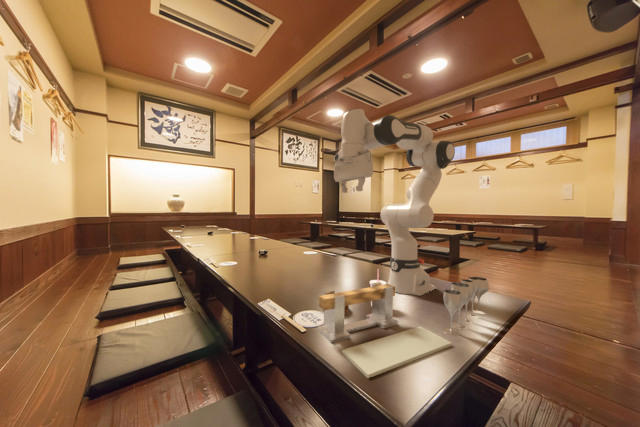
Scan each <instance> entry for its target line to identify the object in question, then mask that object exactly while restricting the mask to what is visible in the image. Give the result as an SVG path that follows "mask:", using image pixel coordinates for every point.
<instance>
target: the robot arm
mask: <svg viewBox="0 0 640 427" xmlns="http://www.w3.org/2000/svg"><path fill="white" fill-rule="evenodd" d="M340 126H341V130H340V135H341V142H340V143H341V144H340V149H339V150H338V152H337V153H336V154H335V155H334V157H333V163H334V166H333V179H334V181H335V183H336V182H337V183H339V185H340V187H341V193H343V194H347V193H348V187H347V182H350V181H356V180H357V181H358V183H357V185H356V186H355V188H356V189H355V191H356V192H363V189H364V185H365V182H366V179H367V178H372V176H373V174H374V162H373V157H372V152H371V150H376V149H378V148H382V147H386V146H392V145H395V144H396V146H397V147H398V148H399V149H402V150H406V156H405V157H406V158H405V159H406V162H407V164H408V165H409V167H415V168H419V167H421V168H420V171H419V172H418V173H417V174H416V176H415V177H414V179H413V180H412V182H411V183H410V185H409V186H408V187H407V189H406V198H407V199H408V201H405V202H404V203H403V202H401V203H400V202H399V203H397V202H396V203H390V204H386V205H384V206H383V207H382V208H381V211H380V215H379V216H380V221H381V222H382V223H383V224H384V225H385V226H386V228H387V231H388V233H389V236H390V242H391V256H390V260H389V263H390V264H389V265H390V270H389V275H388V281H387V284H390V285H392V286H395V293H398V294H403V295H404V294H405V295H414V296H423V295H426V294H428V293H430V292H429V291H431V292H433V291H435V290H434V289H436V290H437V286H435V285H433V284H431V276H430V274H429V273H427V272H426V271H425V270H424V269H423V268H422V267H421V266H420V264H421V265H423V264H424V263H425V260H424V259H421V258H418V246H419V245H418V241H417V239H416V238H415V237H414V236H412V234H411V232H410V229H423V228H428V227H429V226H431V224H432V223H433V221H434V218H435V216H434V215H435V214H434V210H433V208H432V207H431V205H429V204H430V201H431V199H432V197H433V195H434V193H435V192H436V190H437V189H438V186H439V185H440V182H441V179H442V176H443V174H442V170H443V169H446V168H447V167H448V165H449V164H451V163H452V161H453V159H454V157H455V155H456V152H455V151H456V149H455V148H456V147H455V146H454V143H453V142H452V141H450V140H440V141H433V139H434V133H433V129H431V127H428V126H427V125H424V124H419V123H414V122H410V121H409V122H408V121H403V120H401V119H400V118H398V117H396V116H395V115H392V114H388V115H384V116H383V117H381V118H379V119H376V120H374V121H372V122H371V121H370V120H369V119H368V118H367V116H366V115H365V111H364V109H362V108H353V109H350V110H347V111H345V113H344V114H343V116H342V119H341V125H340ZM432 290H433V291H432ZM427 292H428V293H427ZM425 293H426V294H425Z"/></svg>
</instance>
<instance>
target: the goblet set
mask: <svg viewBox="0 0 640 427" xmlns="http://www.w3.org/2000/svg"><path fill="white" fill-rule="evenodd" d="M489 289H490V285H489V281H488V279H487V278H486V277H481V276H480V277H479V276H471V277H469V276H468V277H467V279H464V278H463V279H461V280H460V282H458V281H457V282H455V281H453V282H451V283H450V289H444V291H443V296H442V299H443V303H444V304H443V305H444V306H445V308H446V310H448V313H449V317H450V328H449V327H446V328H443V329H442V331H443V333H445V334H446V333H448V334H447V335H449V334H451V335H450V336H452V335H453V336H454V337H455V336H456V335H458V336H460V335H459V333H460V332H459V331H458V330H459V329H463V328H465V326H466V325H465V324H463V323H461V321H460V319H461V313H462V308H463V306H465V319H462V320H463V321H466V322H470V321H469V320H470V319H469V320H468V317H467V314H468V305H469V302H470V300H471V310H472V312H471V313H470V314H471V316H475V315H476V314H474V313H473V309H474V306H475V304H474V303H475V300H476V298H477V310H478V311H479V310H480V301H481V300H480V299H481V297H482V296H483V295H484V294H486V293H488V292H489ZM456 312H458V313H457V314H458V322H454V321H453V320H454V315H455V313H456ZM473 314H474V315H473ZM462 324H463V325H462ZM464 325H465V326H464ZM456 337H457V336H456Z"/></svg>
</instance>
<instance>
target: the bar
mask: <svg viewBox="0 0 640 427" xmlns="http://www.w3.org/2000/svg"><path fill="white" fill-rule="evenodd" d="M386 287H393V297H396V292H395V286H392V285H390V284H388V283H386V285H380V286H374V287H369V286H368V287H363V288H357V289H351V290H345V291H339V292H335V293H333V294H328V295H324V294H323V295H319V296H318V299H319V300H318V307H319V308H321V309H322V310H323V311H324V310H329V309H333V297H336V296H341V295H343V296H345V305H344V306H353V305H357V304H362V303H366V302H367V303H368V302H371V301H373V300H378V299H382V298H383V288H386Z"/></svg>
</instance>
